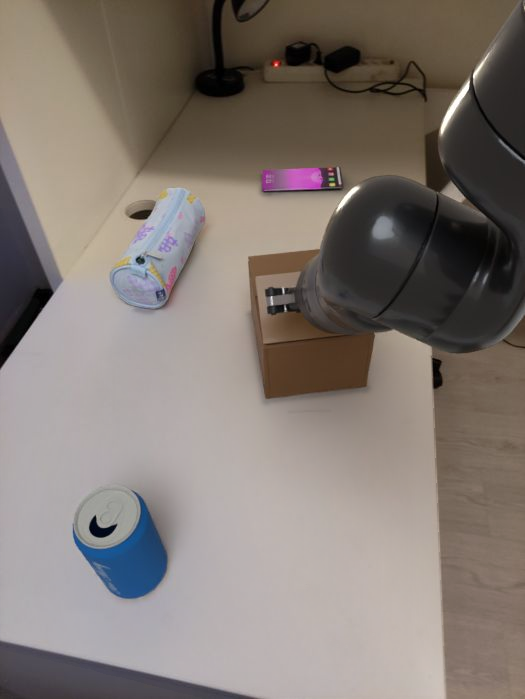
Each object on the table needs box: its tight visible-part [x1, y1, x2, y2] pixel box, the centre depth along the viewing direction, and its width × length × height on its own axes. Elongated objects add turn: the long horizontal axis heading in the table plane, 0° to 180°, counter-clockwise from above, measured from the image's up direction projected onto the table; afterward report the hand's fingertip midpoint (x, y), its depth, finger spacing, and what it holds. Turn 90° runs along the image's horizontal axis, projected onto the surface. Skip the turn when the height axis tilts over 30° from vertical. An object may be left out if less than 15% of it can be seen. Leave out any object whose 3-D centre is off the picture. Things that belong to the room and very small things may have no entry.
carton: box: [247, 248, 376, 400], centre depth 70 cm, size 16×13×10 cm
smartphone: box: [261, 166, 344, 193], centre depth 102 cm, size 7×15×1 cm, turn 89°
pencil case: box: [109, 187, 206, 310], centre depth 82 cm, size 21×9×10 cm, turn 166°
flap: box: [255, 271, 343, 344], centre depth 61 cm, size 8×13×1 cm
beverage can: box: [72, 484, 168, 600], centre depth 50 cm, size 6×6×12 cm
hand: (314, 299), depth 61 cm, fingers closed
